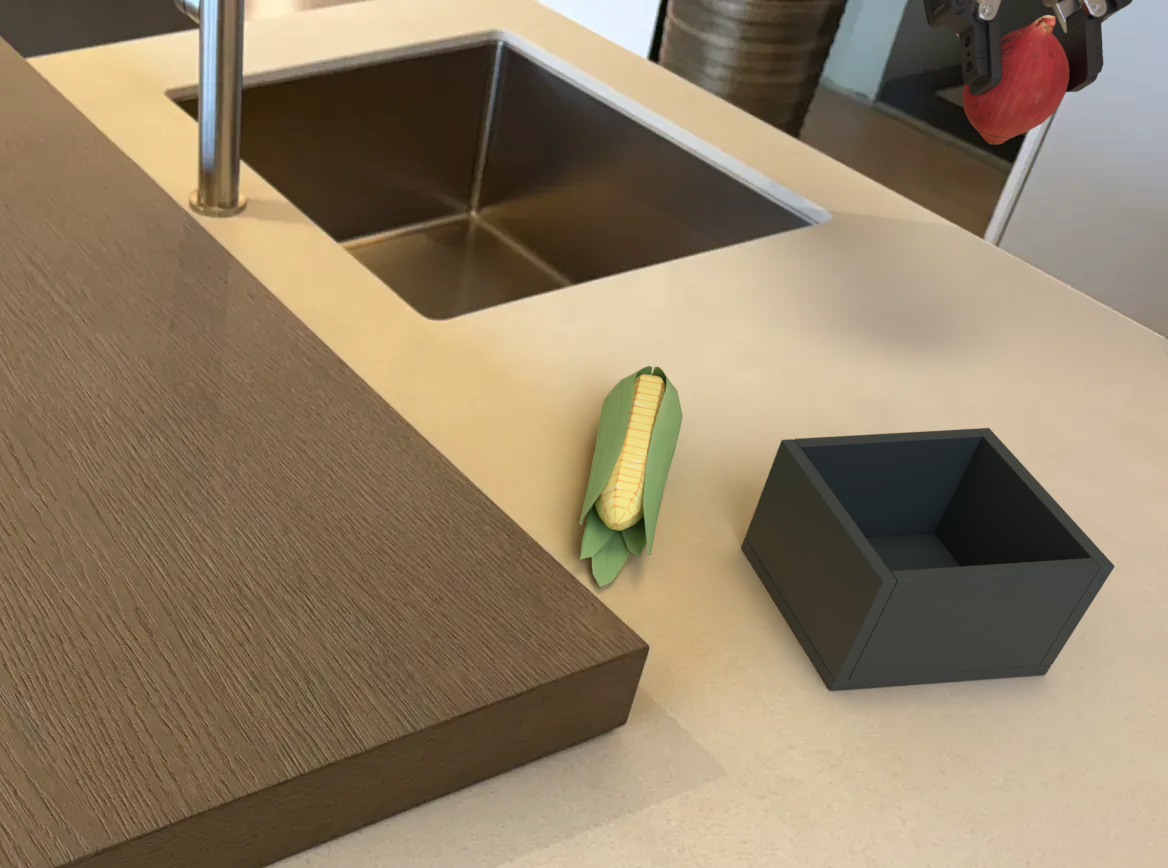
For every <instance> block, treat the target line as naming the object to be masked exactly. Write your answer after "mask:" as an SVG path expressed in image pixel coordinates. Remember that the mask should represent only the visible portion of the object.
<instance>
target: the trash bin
mask: <svg viewBox="0 0 1168 868" xmlns="http://www.w3.org/2000/svg"><path fill="white" fill-rule="evenodd" d="M740 547H741V550H742V551H743V553H744V554H745V556H746V557H747V559H748V561H749V562H750V564H751V566H752V568H753V569H754V570H755V572H756V574H757V575H758V577H759V579H760V580H761V583H762V584H763V585H764V587H765V588H766V590H767V592H768V594H769V595H770V597H771V598H772V599H773V601H774V603H775V605H776V606H777V608H778V609H779V611H780V613H781V614H782V616H783V618H784V619H785V620H786V622H787V624H788V626H789V627H790V629H791V630H792V632H793V633H794V635H795V637H796V638H797V640H798V642H799V643H800V645H801V647H802V648H803V650H804V651H805V653H806V654H807V656H808V658H809V659H810V661H811V662H812V664H813V665H814V667H815V669H816V671H817V673H818V674H819V676H820V677H821V679H822V681H823V682H824V684H825V685H826V687H827V689H828V690H829V691H830V692H835V691H836V692H837V691H848V690H849V691H850V690H851V691H852V690H863V689H877V688H889V687H890V688H891V687H903V686H916V685H929V684H943V683H956V682H957V683H958V682H969V681H984V680H985V681H986V680H998V679H999V680H1000V679H1009V678H1010V679H1011V678H1023V677H1025V678H1026V677H1036V676H1046V675H1047V673H1048V672H1049V670H1050V668H1051V667H1052V665H1053V664H1054V663H1055V661H1056V659H1057V658H1058V657H1059V655H1060V653H1061V652H1062V650H1063V649H1064V647H1065V646H1066V644H1067V642H1068V641H1069V640H1070V638H1071V636H1072V634H1073V633H1074V632H1075V630H1076V629H1077V626H1078V625H1079V623H1080V622H1081V621H1082V619H1083V617H1084V616H1085V614H1086V613H1087V611H1088V610H1089V608H1090V606H1091V605H1092V603H1093V602H1094V600H1095V598H1096V597H1097V596H1098V594H1099V592H1100V590H1101V589H1102V587H1103V586H1104V584H1105V582H1106V581H1107V580H1108V578H1109V576H1110V575H1111V574H1112V572H1113V570H1114V569H1115V567H1116V566H1115V564H1114V563H1113V562H1112V561H1111V560H1110V559H1109V558H1108V557H1107V556H1106V555H1105V554H1104V552H1103V551H1102V550H1101V549H1100V548H1099V547H1098V546H1097V545H1096V544H1095V542H1094V541H1092V539H1091V538H1090V537H1089V536H1088V535H1087V533H1086V532H1085V531H1084V530H1083V529H1082V528H1081V527H1080V526H1079V525H1078V524H1077V523H1076V522H1075V521H1074V520H1073V519H1072V517H1071V516H1070V515H1069V514H1068V513H1067V512H1066V510H1065V509H1063V507H1062V506H1061V505H1060V503H1058V502H1057V500H1056V499H1055V498H1054V497H1053V496H1052V495H1051V494H1050V493H1049V492H1048V491H1047V490H1046V489H1045V487H1043V485H1042V484H1041V483H1040V482H1039V481H1038V480H1037V479H1036V478H1035V477H1034V476H1033V474H1032V473H1031V472H1030V471H1029V469H1027V467H1026V466H1024V464H1023V463H1022V462H1021V461H1020V460H1019V459H1018V458H1017V456H1016V455H1015V454H1014V453H1013V452H1012V451H1011V450H1010V449H1009V448H1008V447H1007V446H1006V444H1005V443H1004V442H1003V441H1002V440H1001V439H1000V438H999V437H998V436H997V435H996V434H995V433H994V431H992V429H991V428H990V427H981V428H980V427H979V428H964V429H962V428H961V429H945V430H943V429H942V430H927V431H926V430H925V431H924V430H923V431H910V432H909V431H908V432H907V431H905V432H892V433H891V432H889V433H873V434H872V433H871V434H857V435H856V434H853V435H842V436H841V435H839V436H838V435H837V436H822V437H821V436H820V437H819V436H818V437H817V436H816V437H804V438H803V437H802V438H794V439H793V438H789V439H781V440H780V443H779V446H778V449H777V451H776V454H775V456H774V459H773V462H772V464H771V467H770V469H769V472H768V475H767V477H766V480H765V483H764V486H763V488H762V490H761V493H760V496H759V499H758V501H757V504H756V507H755V509H754V512H753V514H752V518H751V520H750V522H749V525H748V528H747V531H746V533H745V537H744V538H743V541H742V543H741V546H740Z"/></svg>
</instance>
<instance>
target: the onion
mask: <svg viewBox="0 0 1168 868" xmlns="http://www.w3.org/2000/svg"><path fill="white" fill-rule="evenodd" d="M1056 19H1057V18H1056V15H1051V14H1046V15H1042V16H1040V17H1038V18H1037V19H1035V20H1034V21H1033V22H1031V23H1029V24H1028V25H1026V26H1024V27H1022V28H1018V29H1016V30H1014V31H1011V32H1009V33H1007V34H1006V35H1004V36H1002V37H1000V40H1001V58H1002V80H1001V82H1000V83H999V85H997V86H996V87H995V88H993V89H992V90H990V91H989V92H987V93H986V94H984V95H971V94H970V91H969V86H966V85H965V83H964V82H963V87H962V91H961V96H962V105H963V110H964V114H965V115H966V117H967V119H968V121H969V123H970V124H971V125H972V127H973V128H974V130H976V131H977V132H978V133H979V135H980V136H981V137H982V138H983V139H984V141H985V142H986V143H988V144H989V145H1001V144H1003V143H1005V142H1007V141H1009V140H1010V139H1013V138H1015V137H1016V136H1020V135H1023V134H1024V133H1027V132H1029V131H1031V130H1034V129H1035V128H1037V127H1038V126H1040V125H1042V124H1043V123H1044V122H1045V121H1047V120H1048V119H1049V118H1050V117H1051V116H1052V115H1053V114H1054V113H1055V111H1057V109H1058V108H1059V106H1060V104H1061V102H1062V100H1063V99H1064V97H1065V95H1066V94H1067V92H1066V90H1067V86H1068V82H1069V64H1068V59H1067V56H1066V54H1065V51H1064V49H1063V47H1062V46H1061V43H1060V41H1059V39H1058V38H1057V37H1056V36H1055V35H1054V34H1053V31H1054V27H1055V26H1056V25H1057V20H1056Z"/></svg>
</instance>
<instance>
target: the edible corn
mask: <svg viewBox="0 0 1168 868" xmlns="http://www.w3.org/2000/svg"><path fill="white" fill-rule="evenodd" d="M683 416H684V415H683V411H682V407H681V401H680V397H679V392H678V389H677V388H676V387H675V386H674V384H673V383H672V382H671V380H670V379H669V378H668V376H667V374H666V373H665V372H664V370H663V369H661V367H659V366H654V368H653V366H651V365H648V366H644V367H642V368H641V369H639V370H637V371H636V372H634V373H632V374H630V375H628V376H626V377H623V378H622V379H620V380H619V381H618V383H616V385H614V386H613V388H612V389H611V390H610V391H609V393H608V394H607V395H606V396H605V398H604V399H603V403H602V407H601V411H600V416H599V421H598V427H597V428H598V429H597V435H596V436H597V437H596V442H595V447H594V452H593V456H592V463H591V467H590V473H589V476H588V477H589V478H588V482H587V487H586V491H585V496H584V501H583V505H582V510H581V514H580V518H579V524H580V525H583V522H584V519H585V517H586V519H585V520H586V521H585V525H584V530H583V535H582V538H581V540H582V541H581V548H580V556H579V560H583V559H588V558H591V570H592V576H593V577H594V579H595V581H596V582H597V584H598V586H599V587H600V588H601V587H603V586H605V585H608V584H609V583H611V582H613V581H614V580H615V578H616V577H617V575H618V574H619V572H620V571H621V569H622V568H623V566H624V564H625V563H626V562H627V560H628V558H629V556H630V554H631V553H632V554H634V555H635V556H636V557H637V558H639V559H640V558H641V555H642V553H643V551H644V549H645V547H646V549H647V555H649V556H651V555H652V553H653V552H652V551H653V546H654V541H655V535H656V529H657V524H658V519H659V515H660V510H661V505H662V501H663V497H664V493H665V488H666V483H667V479H668V475H669V471H670V468H671V464H672V462H673V461H672V460H673V458H674V454H675V452H676V448H677V444H678V439H679V435H680V431H681V427H682V420H683Z"/></svg>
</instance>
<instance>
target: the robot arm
mask: <svg viewBox="0 0 1168 868" xmlns="http://www.w3.org/2000/svg"><path fill="white" fill-rule="evenodd" d="M1040 1H1041V4H1042V5H1043V6H1044V7H1050V8H1051V9H1052V11H1053V13H1054V16H1055V18H1056V19H1057V21H1058V23H1059V25H1060V27H1061V29H1062V31H1063V32H1064V33H1063V34H1062V35H1061V36H1060V37H1059V40H1060V41H1059V42H1060V44H1061V46H1062V47H1063V49H1064V51H1065V54H1066V56H1067V59H1068V64H1069V82H1068V86H1067V90H1066V93H1078V92H1080V91H1082V90H1083V89H1085V88H1086V87H1088V86H1090V85H1091V84H1093V83H1094V82H1095V81H1096V80H1097V78H1098V76H1099V74H1100V73H1102V69H1103V66H1104V55H1103V54H1104V51H1103V50H1104V49H1103V32H1102V30H1103V29H1102V23H1104V22H1105V21H1107V20H1108V19H1109V18H1110V17H1112V16H1113V15H1115V14H1117V13H1118V12H1119V11H1121V10H1123V9H1124V8H1126V7H1128V6H1129V5H1130V4H1132V2H1133V0H1077V1H1078V3H1079V6H1080V7H1079V6H1078V4H1077V2H1076V0H1040ZM922 3H923V7H924V12H925V17H926V22H927V24H928V26H929V27H930V28H931V29H934V30H940V29H941V28H947V29H949V30H952V31H954V33H955V35H956V37H958V38H959V43H960V44H959V45H960V61H961V78H962V81H963V84H964V83H965V85H966V86H969V91H970V94H971V95H984V94H986V93H987V92H989V91H990V90H992V89H993V88H995V87H996V86H997V85H999V83H1000V82H1001V80H1002V58H1001V40H1000V39H1001V25H1000V24H1001V23H1000V21H993V19H994V18H995V17H996V16H997V14H998V11H999V8H1000V6H1001V3H1002V0H922Z"/></svg>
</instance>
